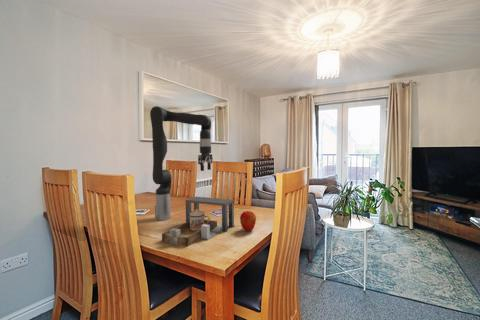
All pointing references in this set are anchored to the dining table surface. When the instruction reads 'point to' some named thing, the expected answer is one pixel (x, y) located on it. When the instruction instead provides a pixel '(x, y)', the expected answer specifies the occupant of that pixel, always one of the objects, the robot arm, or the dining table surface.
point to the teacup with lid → (197, 220)
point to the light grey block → (206, 232)
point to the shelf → (213, 202)
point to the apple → (248, 220)
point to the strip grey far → (217, 229)
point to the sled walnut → (176, 238)
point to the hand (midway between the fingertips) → (205, 170)
